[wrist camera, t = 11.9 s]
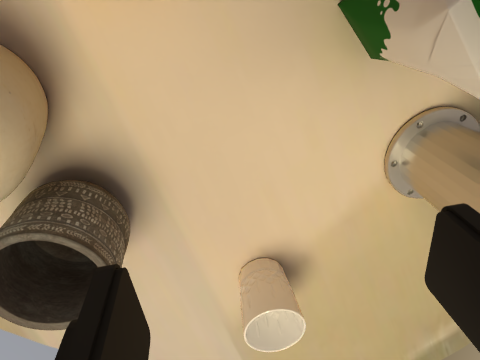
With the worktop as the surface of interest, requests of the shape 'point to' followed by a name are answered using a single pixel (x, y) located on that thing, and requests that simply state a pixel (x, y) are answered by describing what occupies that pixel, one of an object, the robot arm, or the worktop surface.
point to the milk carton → (422, 36)
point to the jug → (19, 120)
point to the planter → (58, 251)
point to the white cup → (269, 307)
